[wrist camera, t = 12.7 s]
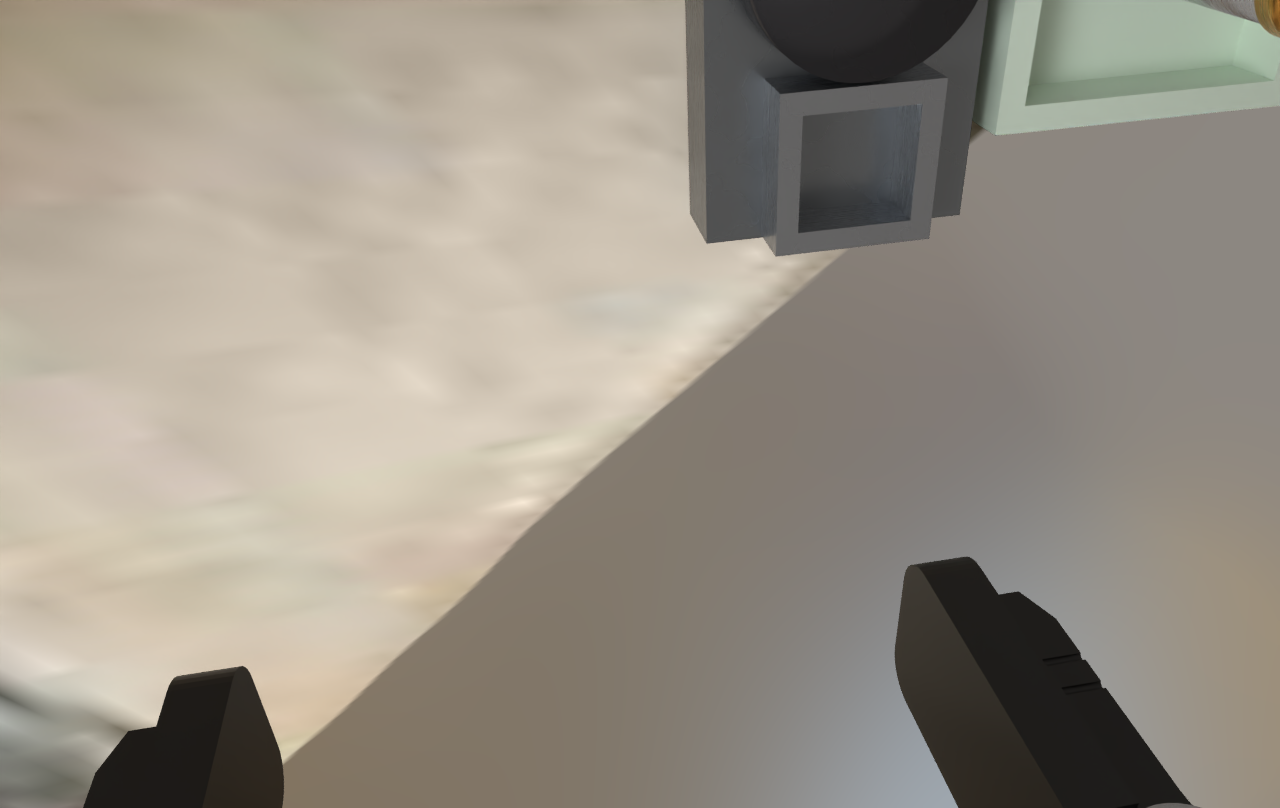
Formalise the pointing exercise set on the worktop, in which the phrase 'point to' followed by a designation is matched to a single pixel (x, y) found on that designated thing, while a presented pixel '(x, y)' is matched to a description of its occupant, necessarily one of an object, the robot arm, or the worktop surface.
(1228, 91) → the tray
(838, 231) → the tensioner block
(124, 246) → the worktop surface
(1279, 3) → the pin
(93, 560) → the worktop surface
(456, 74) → the worktop surface
